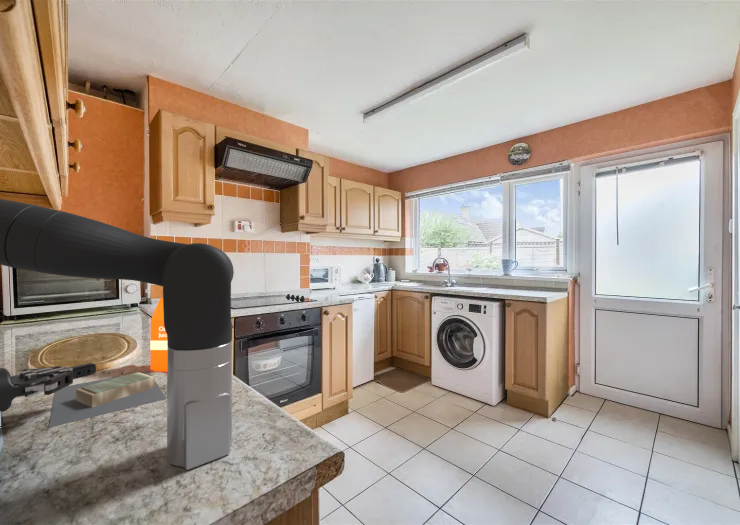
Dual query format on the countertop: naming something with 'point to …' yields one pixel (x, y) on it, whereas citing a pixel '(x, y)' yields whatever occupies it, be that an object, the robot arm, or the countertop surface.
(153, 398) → the rubber mat
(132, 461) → the countertop surface
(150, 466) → the countertop surface
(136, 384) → the birch plaque
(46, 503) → the countertop surface
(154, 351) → the orange juice
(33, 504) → the countertop surface
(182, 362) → the robot arm
